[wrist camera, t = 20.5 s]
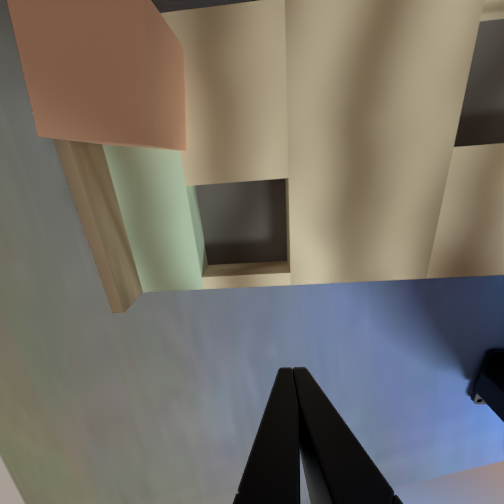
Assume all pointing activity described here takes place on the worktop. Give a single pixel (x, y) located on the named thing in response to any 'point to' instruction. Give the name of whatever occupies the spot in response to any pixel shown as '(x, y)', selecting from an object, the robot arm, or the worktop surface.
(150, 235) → the board
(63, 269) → the worktop surface
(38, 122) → the block
